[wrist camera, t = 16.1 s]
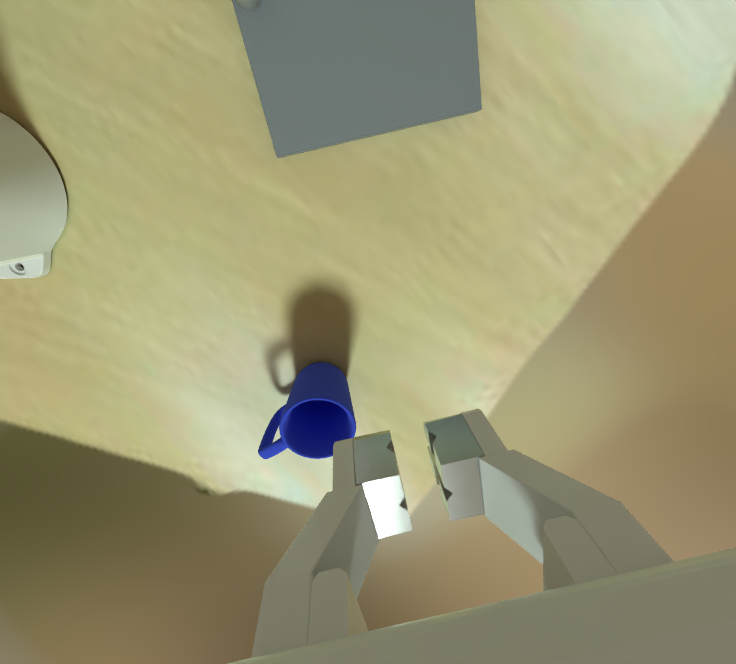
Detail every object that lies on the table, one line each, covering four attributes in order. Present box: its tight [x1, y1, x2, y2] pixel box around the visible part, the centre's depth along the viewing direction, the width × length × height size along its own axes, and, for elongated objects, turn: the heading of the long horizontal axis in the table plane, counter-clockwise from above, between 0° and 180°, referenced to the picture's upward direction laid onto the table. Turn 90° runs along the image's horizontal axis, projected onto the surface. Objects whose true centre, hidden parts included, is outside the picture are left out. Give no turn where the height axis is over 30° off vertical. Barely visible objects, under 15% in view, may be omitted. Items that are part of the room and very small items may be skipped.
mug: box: [258, 362, 356, 459], centre depth 42 cm, size 8×12×10 cm
